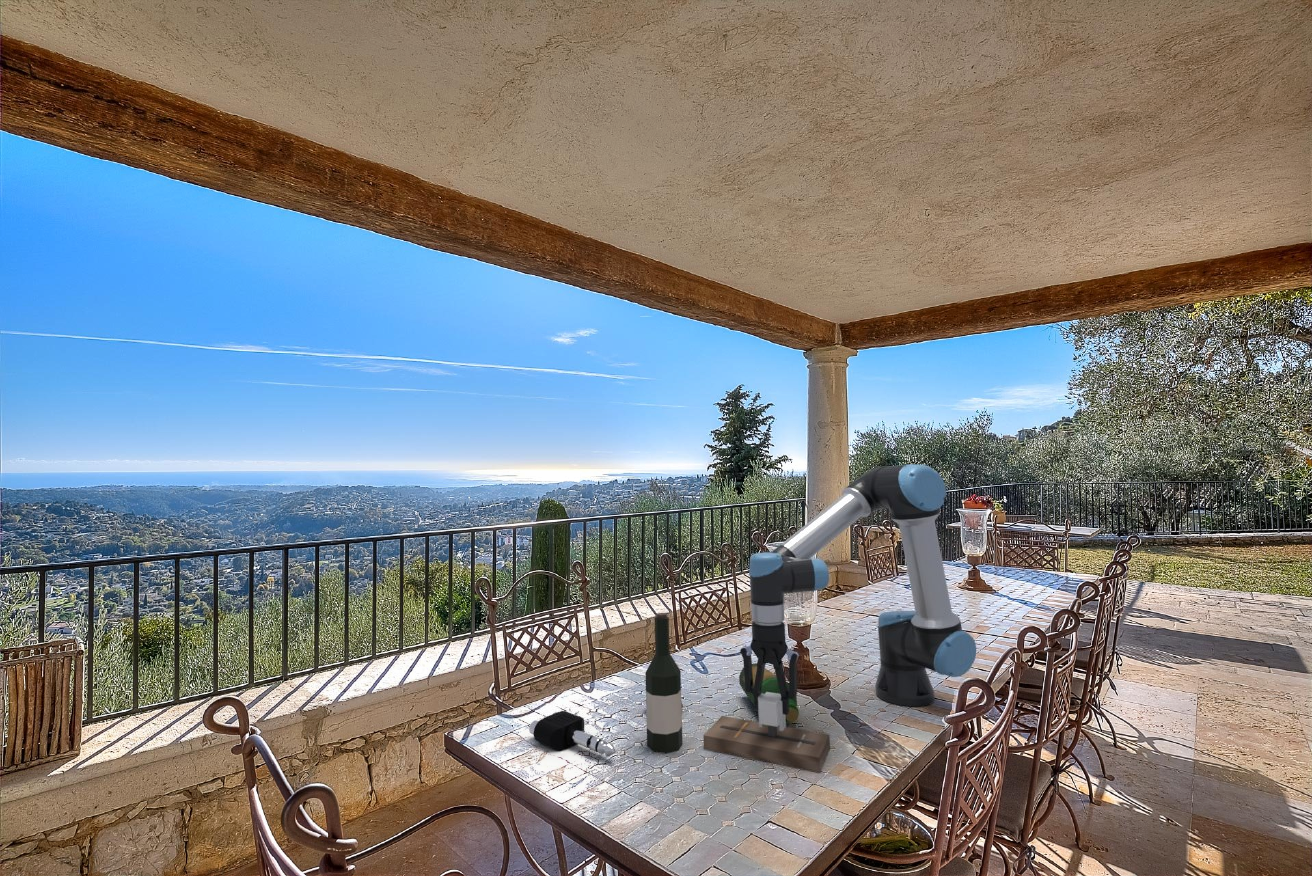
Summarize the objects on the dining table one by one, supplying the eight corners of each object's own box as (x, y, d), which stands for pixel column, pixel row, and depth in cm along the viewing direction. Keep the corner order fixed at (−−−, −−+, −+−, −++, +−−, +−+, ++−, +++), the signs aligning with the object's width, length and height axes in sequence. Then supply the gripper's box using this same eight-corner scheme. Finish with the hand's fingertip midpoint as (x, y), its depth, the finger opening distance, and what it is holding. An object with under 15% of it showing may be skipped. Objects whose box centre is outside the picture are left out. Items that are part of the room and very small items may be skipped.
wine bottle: (645, 738, 136) (643, 610, 138) (680, 736, 136) (676, 609, 139) (648, 754, 127) (645, 618, 130) (685, 752, 128) (681, 617, 131)
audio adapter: (561, 704, 144) (632, 730, 128) (561, 726, 144) (632, 755, 128) (525, 718, 136) (596, 748, 120) (526, 741, 136) (596, 774, 119)
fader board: (830, 748, 128) (829, 734, 129) (819, 772, 118) (818, 757, 118) (722, 728, 140) (722, 715, 140) (703, 748, 129) (703, 734, 130)
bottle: (773, 662, 163) (817, 696, 135) (766, 700, 161) (808, 742, 134) (739, 655, 161) (775, 688, 134) (731, 693, 160) (766, 734, 132)
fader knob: (784, 731, 130) (783, 694, 131) (777, 742, 125) (776, 703, 126) (767, 728, 132) (766, 691, 133) (760, 738, 127) (758, 700, 127)
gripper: (808, 620, 130) (813, 726, 128) (738, 615, 138) (741, 714, 136) (801, 628, 123) (806, 740, 121) (727, 622, 131) (731, 726, 129)
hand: (772, 726), depth 129 cm, fingers closed on fader knob, 4 cm apart
